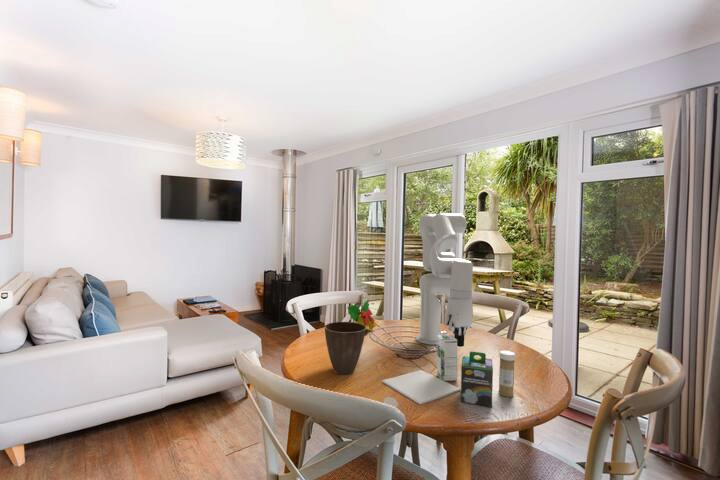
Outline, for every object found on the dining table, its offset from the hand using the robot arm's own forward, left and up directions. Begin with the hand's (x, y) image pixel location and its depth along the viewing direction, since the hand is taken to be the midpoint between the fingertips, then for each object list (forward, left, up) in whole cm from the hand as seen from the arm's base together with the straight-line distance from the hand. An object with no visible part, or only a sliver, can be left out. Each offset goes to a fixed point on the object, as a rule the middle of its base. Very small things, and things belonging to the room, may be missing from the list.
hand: (458, 345), depth 125 cm
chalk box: (+9, +15, -11) cm, 21 cm away
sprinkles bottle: (-2, +18, -11) cm, 21 cm away
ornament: (-2, -61, -11) cm, 62 cm away
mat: (+18, 0, -11) cm, 21 cm away
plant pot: (+33, -24, -11) cm, 43 cm away
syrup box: (+5, 0, -11) cm, 12 cm away
